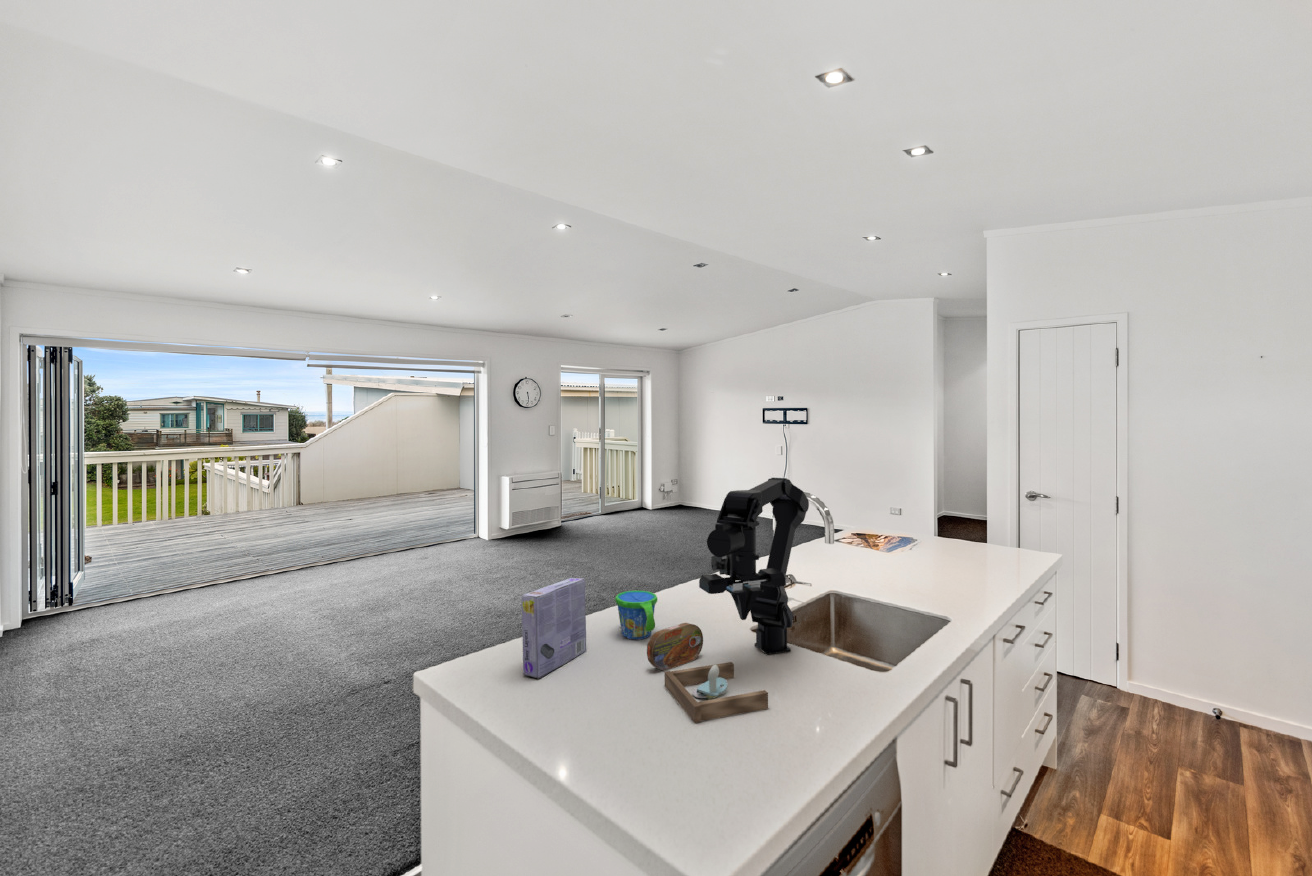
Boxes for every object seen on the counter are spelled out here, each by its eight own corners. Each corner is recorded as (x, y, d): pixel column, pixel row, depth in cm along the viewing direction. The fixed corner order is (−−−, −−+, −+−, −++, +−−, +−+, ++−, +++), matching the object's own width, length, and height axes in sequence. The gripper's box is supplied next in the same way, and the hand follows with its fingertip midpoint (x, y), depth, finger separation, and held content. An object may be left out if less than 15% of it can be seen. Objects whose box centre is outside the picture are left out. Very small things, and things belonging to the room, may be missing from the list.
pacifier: (686, 698, 116) (712, 705, 112) (685, 666, 116) (711, 673, 112) (705, 684, 121) (731, 691, 118) (704, 654, 121) (729, 660, 118)
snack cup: (667, 642, 144) (667, 601, 144) (627, 649, 140) (627, 607, 140) (644, 623, 159) (644, 586, 159) (607, 628, 155) (607, 590, 155)
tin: (653, 675, 126) (653, 636, 126) (644, 670, 128) (644, 632, 128) (704, 657, 135) (704, 621, 135) (695, 653, 138) (695, 618, 137)
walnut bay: (731, 675, 125) (730, 661, 125) (768, 709, 110) (768, 693, 110) (664, 686, 120) (664, 671, 120) (694, 723, 105) (694, 706, 105)
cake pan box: (573, 646, 143) (572, 574, 142) (590, 649, 140) (589, 576, 140) (520, 676, 126) (519, 594, 125) (538, 680, 123) (537, 598, 123)
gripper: (762, 539, 138) (762, 604, 139) (689, 545, 132) (689, 613, 133) (787, 548, 128) (787, 618, 128) (709, 555, 122) (710, 629, 122)
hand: (743, 619), depth 128 cm, fingers closed
